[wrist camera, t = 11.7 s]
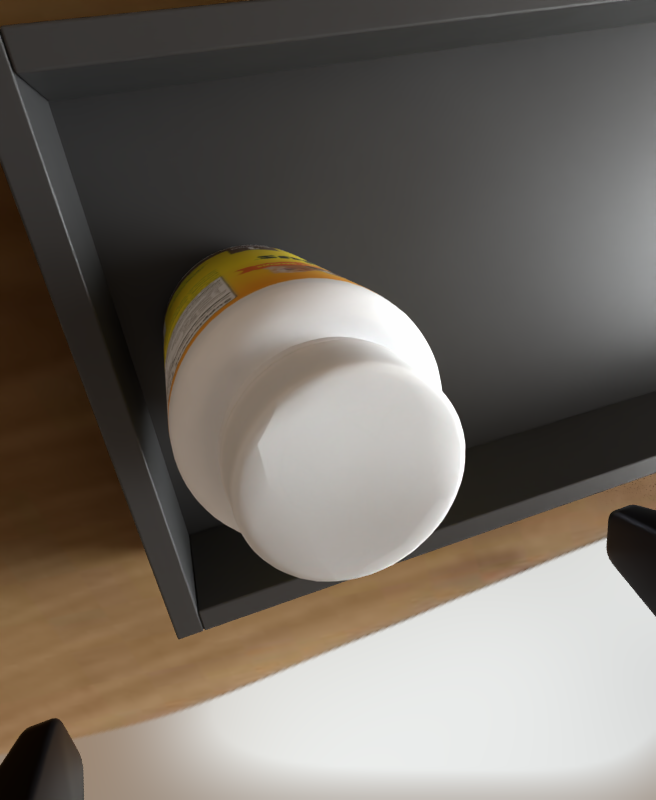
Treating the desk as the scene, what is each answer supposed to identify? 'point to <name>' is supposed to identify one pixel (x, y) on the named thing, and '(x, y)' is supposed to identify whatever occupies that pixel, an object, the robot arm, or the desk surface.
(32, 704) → the desk surface
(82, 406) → the desk surface
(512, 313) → the black rectangular tray
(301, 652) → the desk surface
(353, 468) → the supplement bottle
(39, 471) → the desk surface
